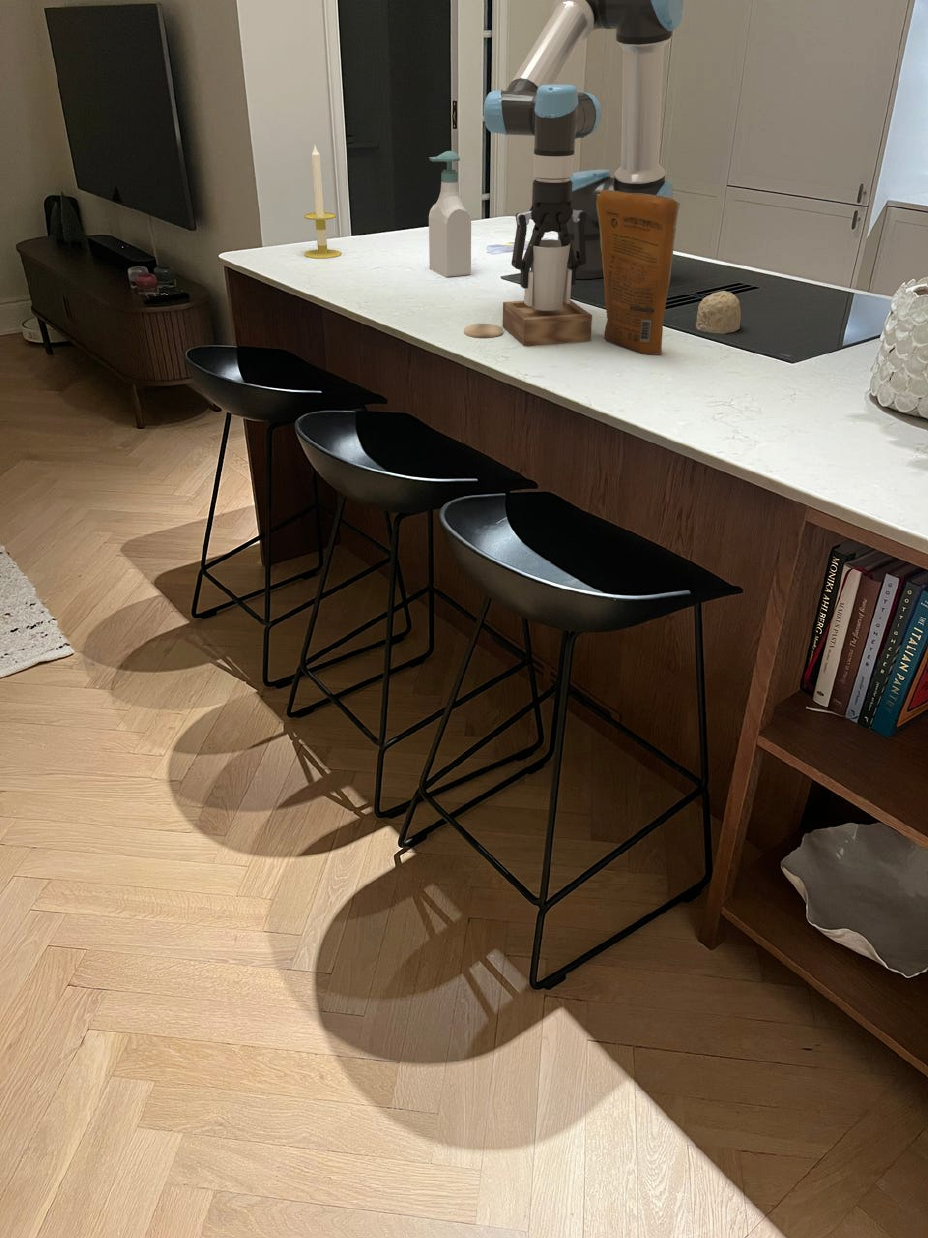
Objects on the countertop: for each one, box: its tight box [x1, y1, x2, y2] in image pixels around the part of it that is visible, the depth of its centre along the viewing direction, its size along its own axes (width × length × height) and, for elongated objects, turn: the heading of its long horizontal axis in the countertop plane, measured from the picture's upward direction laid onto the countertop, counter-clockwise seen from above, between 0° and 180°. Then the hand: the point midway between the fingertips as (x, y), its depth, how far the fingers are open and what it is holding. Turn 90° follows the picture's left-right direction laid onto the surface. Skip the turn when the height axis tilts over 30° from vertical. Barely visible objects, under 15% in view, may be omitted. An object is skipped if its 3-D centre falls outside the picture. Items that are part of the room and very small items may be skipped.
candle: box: [303, 142, 342, 260], centre depth 250 cm, size 10×10×27 cm
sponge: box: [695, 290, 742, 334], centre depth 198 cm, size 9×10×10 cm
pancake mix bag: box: [596, 190, 681, 355], centre depth 182 cm, size 7×19×28 cm, turn 34°
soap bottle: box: [428, 150, 472, 278], centre depth 233 cm, size 11×8×27 cm
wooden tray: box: [501, 299, 593, 347], centre depth 195 cm, size 14×14×5 cm
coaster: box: [463, 323, 504, 339], centre depth 196 cm, size 8×8×1 cm
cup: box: [530, 238, 570, 311], centre depth 190 cm, size 8×8×12 cm
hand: (547, 302), depth 193 cm, fingers closed on cup, 7 cm apart
